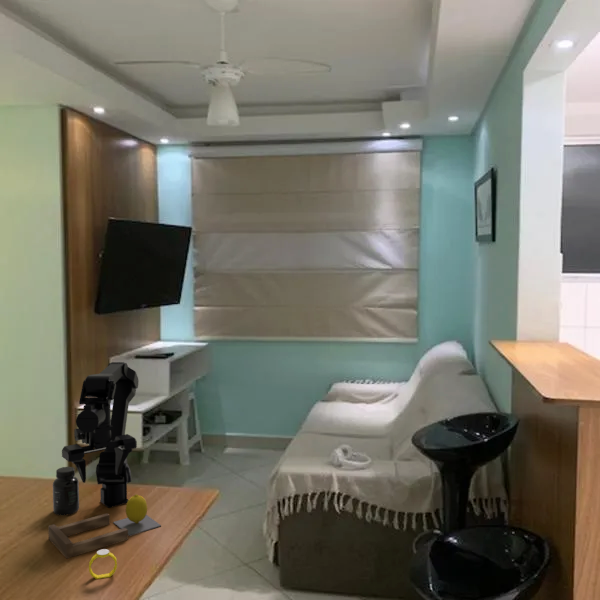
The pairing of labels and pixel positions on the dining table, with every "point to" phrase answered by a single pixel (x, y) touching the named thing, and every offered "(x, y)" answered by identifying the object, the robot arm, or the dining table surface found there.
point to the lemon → (136, 508)
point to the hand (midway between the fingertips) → (100, 478)
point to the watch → (102, 554)
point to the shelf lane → (72, 549)
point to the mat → (137, 525)
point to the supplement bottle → (65, 492)
